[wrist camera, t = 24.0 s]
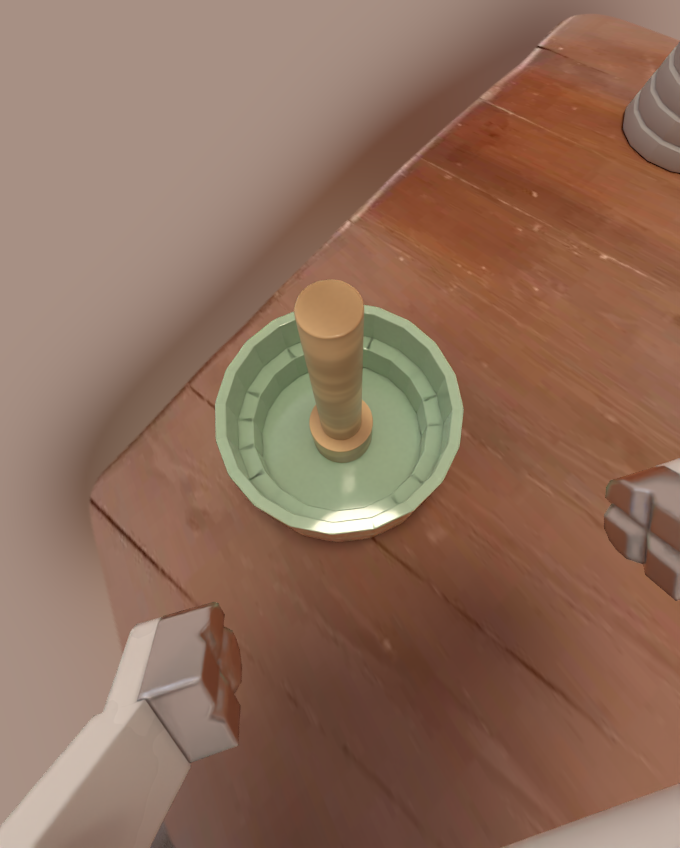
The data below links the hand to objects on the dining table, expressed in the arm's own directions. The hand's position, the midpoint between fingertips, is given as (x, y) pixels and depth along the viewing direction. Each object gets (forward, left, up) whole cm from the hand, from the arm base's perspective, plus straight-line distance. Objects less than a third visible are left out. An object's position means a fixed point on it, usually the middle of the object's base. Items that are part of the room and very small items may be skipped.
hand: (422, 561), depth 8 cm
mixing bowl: (+5, +9, -22) cm, 24 cm away
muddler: (+5, +9, -21) cm, 23 cm away
